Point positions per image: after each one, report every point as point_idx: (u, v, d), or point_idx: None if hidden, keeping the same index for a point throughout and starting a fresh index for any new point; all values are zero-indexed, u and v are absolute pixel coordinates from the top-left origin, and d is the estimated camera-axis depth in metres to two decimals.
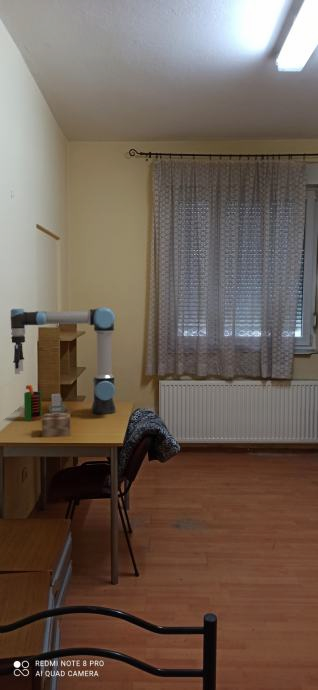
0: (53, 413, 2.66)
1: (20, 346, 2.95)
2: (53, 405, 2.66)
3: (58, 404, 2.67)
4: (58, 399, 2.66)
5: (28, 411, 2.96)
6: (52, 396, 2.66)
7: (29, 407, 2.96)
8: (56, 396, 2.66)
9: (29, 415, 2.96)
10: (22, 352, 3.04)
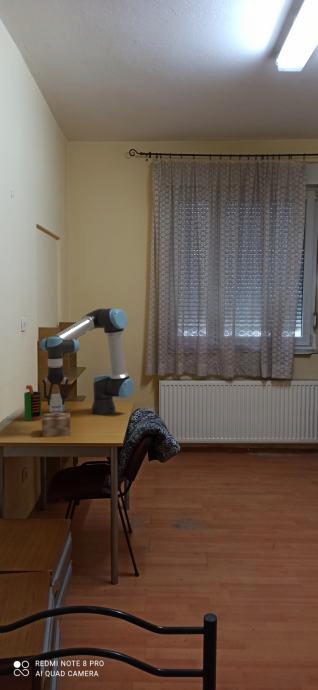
0: (53, 413, 2.66)
1: (51, 379, 2.66)
2: (53, 405, 2.66)
3: (58, 404, 2.67)
4: (58, 399, 2.66)
5: (28, 411, 2.96)
6: (52, 396, 2.66)
7: (29, 407, 2.96)
8: (56, 396, 2.66)
9: (29, 415, 2.96)
10: (65, 389, 2.67)
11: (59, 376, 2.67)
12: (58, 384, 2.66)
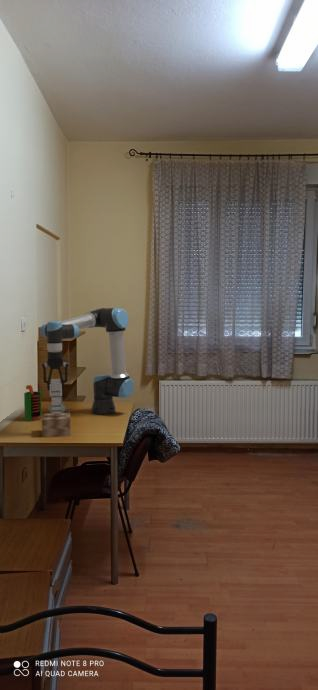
0: (53, 398, 2.66)
1: (51, 363, 2.65)
2: (53, 390, 2.65)
3: (58, 389, 2.66)
4: (58, 384, 2.66)
5: (28, 411, 2.96)
6: (52, 381, 2.65)
7: (29, 407, 2.96)
8: (56, 381, 2.65)
9: (29, 415, 2.96)
10: (65, 374, 2.67)
11: (59, 361, 2.66)
12: (58, 369, 2.66)
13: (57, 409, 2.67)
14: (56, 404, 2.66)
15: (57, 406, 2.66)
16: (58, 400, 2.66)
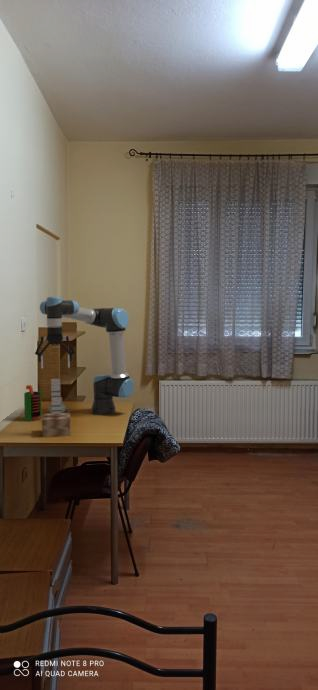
0: (53, 398, 2.66)
1: (51, 338, 2.64)
2: (53, 390, 2.65)
3: (58, 389, 2.66)
4: (58, 384, 2.66)
5: (28, 411, 2.96)
6: (52, 381, 2.65)
7: (29, 407, 2.96)
8: (56, 381, 2.65)
9: (29, 415, 2.96)
10: (69, 346, 2.66)
11: (58, 337, 2.65)
12: (60, 343, 2.65)
13: (57, 409, 2.67)
14: (56, 404, 2.66)
15: (57, 406, 2.66)
16: (58, 400, 2.66)
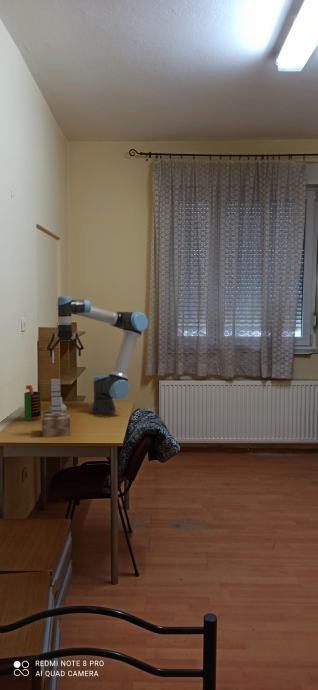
0: (53, 398, 2.66)
1: (61, 335, 2.84)
2: (53, 390, 2.65)
3: (58, 389, 2.66)
4: (58, 384, 2.66)
5: (28, 411, 2.96)
6: (52, 381, 2.65)
7: (29, 407, 2.96)
8: (56, 381, 2.65)
9: (29, 415, 2.96)
10: (79, 342, 2.87)
11: (68, 334, 2.85)
12: (70, 340, 2.85)
13: (57, 409, 2.67)
14: (56, 404, 2.66)
15: (57, 406, 2.66)
16: (58, 400, 2.66)
